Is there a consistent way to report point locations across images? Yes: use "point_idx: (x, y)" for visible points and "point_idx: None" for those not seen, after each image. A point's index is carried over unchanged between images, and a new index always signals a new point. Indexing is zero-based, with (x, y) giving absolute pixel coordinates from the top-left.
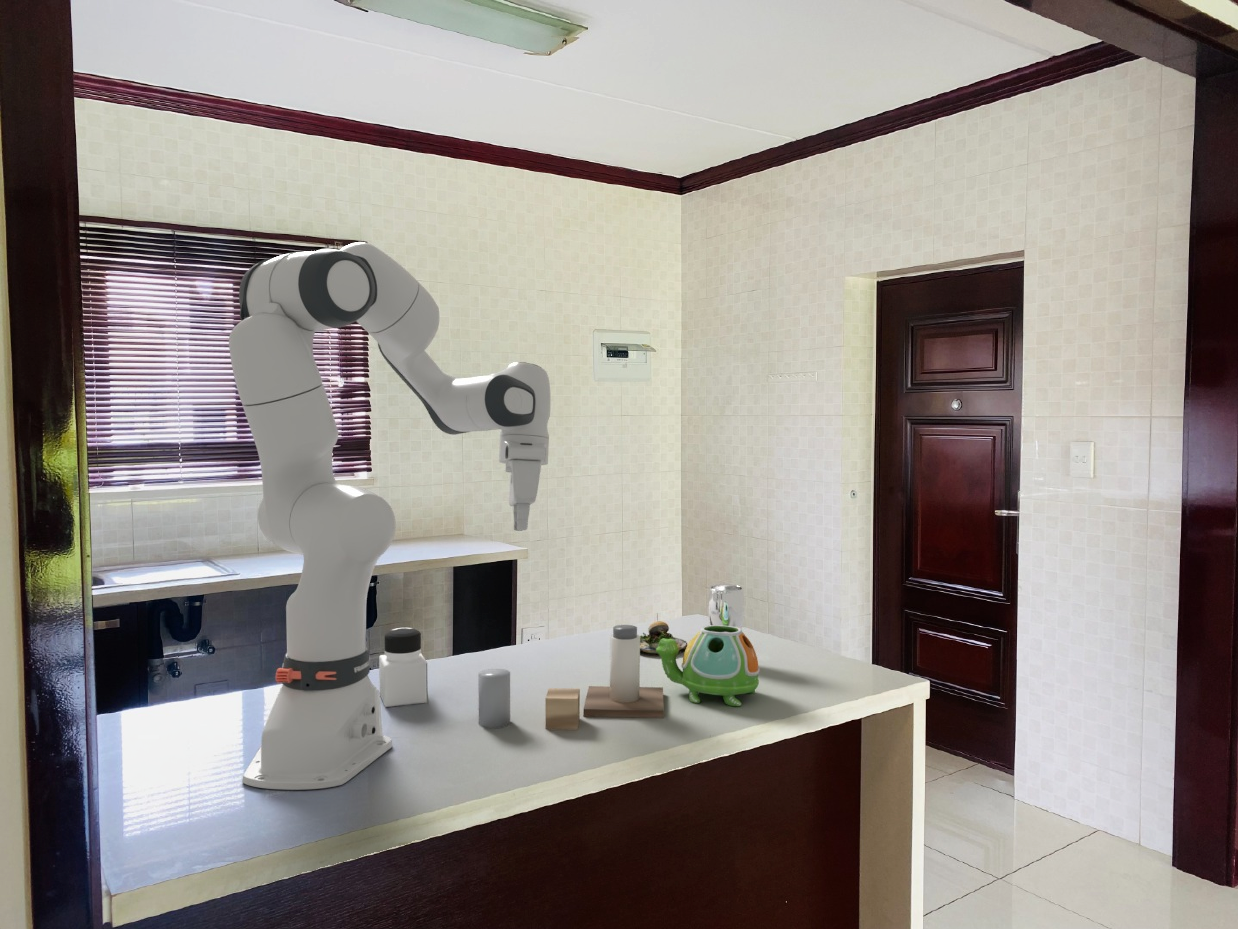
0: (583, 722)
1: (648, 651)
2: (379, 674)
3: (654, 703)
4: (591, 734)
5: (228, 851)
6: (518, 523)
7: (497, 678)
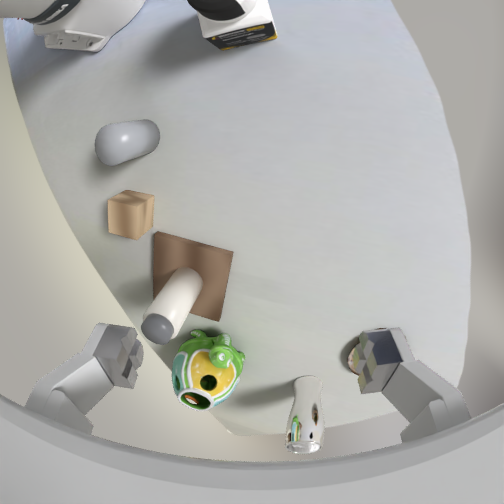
0: None
1: None
2: None
3: None
4: None
5: (11, 35)
6: (90, 343)
7: (95, 150)
